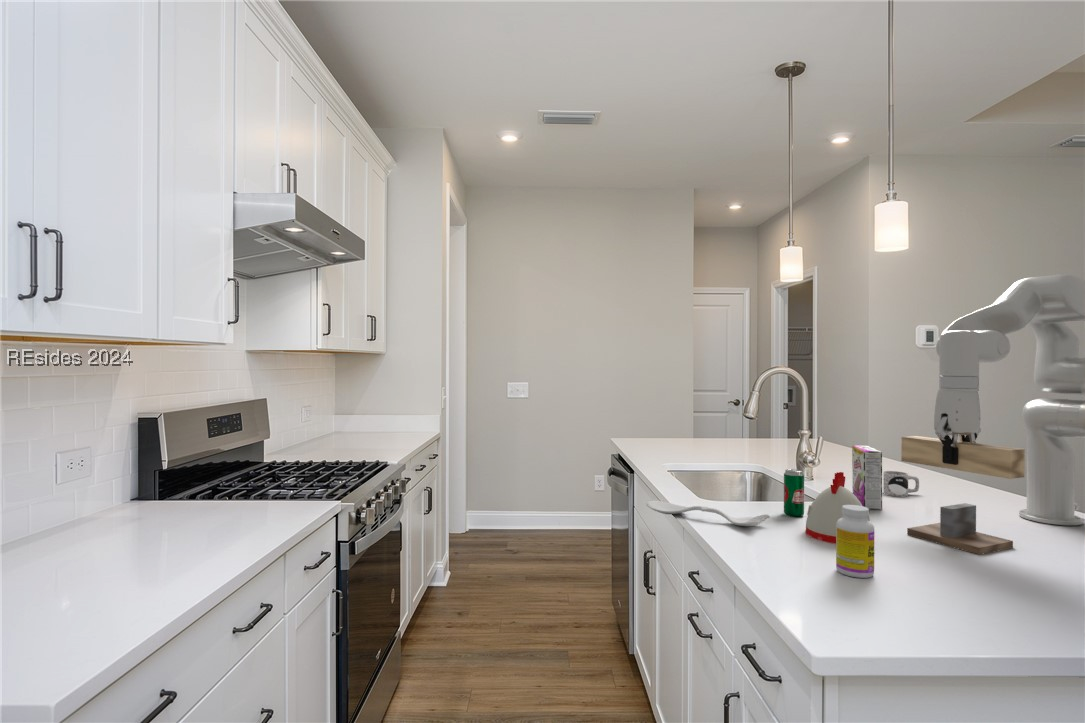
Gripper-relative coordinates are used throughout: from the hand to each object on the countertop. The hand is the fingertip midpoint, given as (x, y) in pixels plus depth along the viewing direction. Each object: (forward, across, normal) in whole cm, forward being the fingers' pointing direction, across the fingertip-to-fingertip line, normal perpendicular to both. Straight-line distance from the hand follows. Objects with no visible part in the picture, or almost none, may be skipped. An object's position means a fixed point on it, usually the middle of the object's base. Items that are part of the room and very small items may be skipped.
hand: (958, 462), depth 137 cm
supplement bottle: (+19, +40, +5) cm, 44 cm away
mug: (+18, -33, -37) cm, 53 cm away
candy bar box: (+18, -11, -32) cm, 39 cm away
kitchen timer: (+19, +22, -14) cm, 32 cm away
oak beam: (+1, 0, 0) cm, 1 cm away
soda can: (+19, +17, -32) cm, 41 cm away
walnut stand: (+18, 0, 0) cm, 18 cm away
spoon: (+19, +42, -39) cm, 60 cm away
